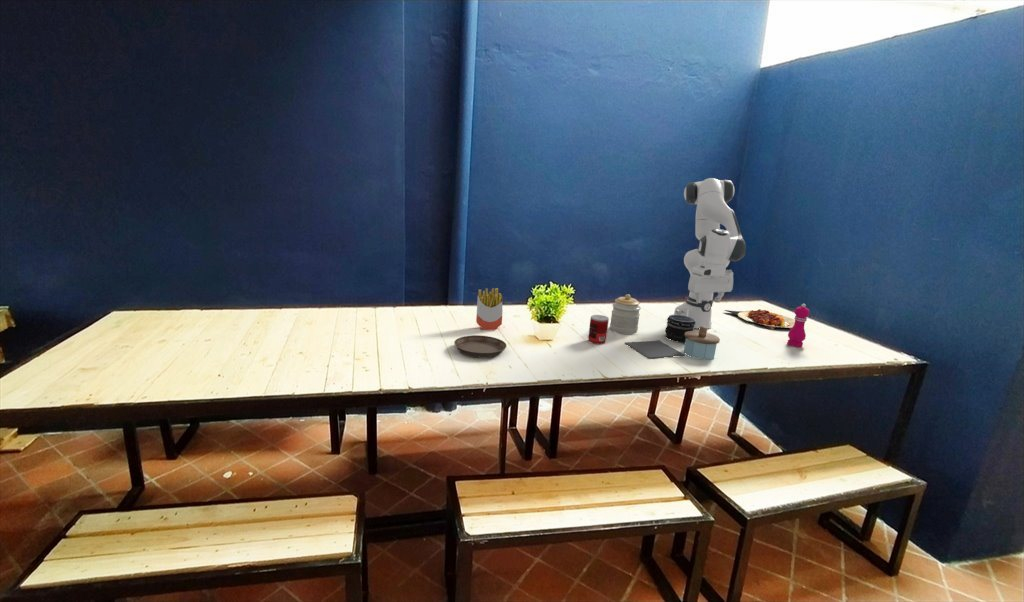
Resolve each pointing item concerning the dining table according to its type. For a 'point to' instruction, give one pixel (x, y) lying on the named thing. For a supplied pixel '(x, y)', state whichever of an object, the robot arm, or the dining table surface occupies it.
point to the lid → (702, 336)
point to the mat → (654, 349)
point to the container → (678, 327)
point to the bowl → (699, 349)
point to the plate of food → (765, 318)
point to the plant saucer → (480, 346)
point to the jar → (625, 315)
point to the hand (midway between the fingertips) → (708, 302)
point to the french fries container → (489, 310)
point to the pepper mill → (798, 327)
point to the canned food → (598, 329)
